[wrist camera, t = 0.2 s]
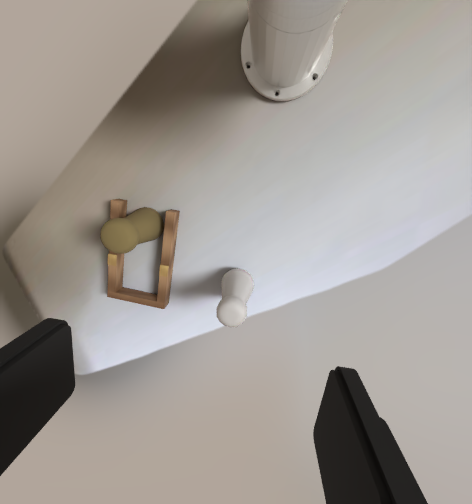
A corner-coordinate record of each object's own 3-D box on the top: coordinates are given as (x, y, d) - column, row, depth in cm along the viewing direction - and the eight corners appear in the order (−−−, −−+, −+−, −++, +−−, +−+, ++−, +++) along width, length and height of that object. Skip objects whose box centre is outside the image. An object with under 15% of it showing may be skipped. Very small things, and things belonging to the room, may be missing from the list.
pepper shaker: (161, 206, 45) (129, 215, 34) (166, 239, 46) (138, 258, 36) (128, 208, 45) (88, 218, 35) (134, 241, 47) (98, 260, 36)
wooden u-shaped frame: (118, 198, 45) (109, 200, 42) (179, 211, 44) (174, 213, 42) (114, 290, 50) (106, 297, 48) (168, 302, 50) (163, 309, 47)
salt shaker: (220, 289, 48) (205, 328, 36) (226, 261, 46) (213, 292, 34) (250, 296, 48) (246, 338, 35) (257, 268, 46) (256, 302, 34)
